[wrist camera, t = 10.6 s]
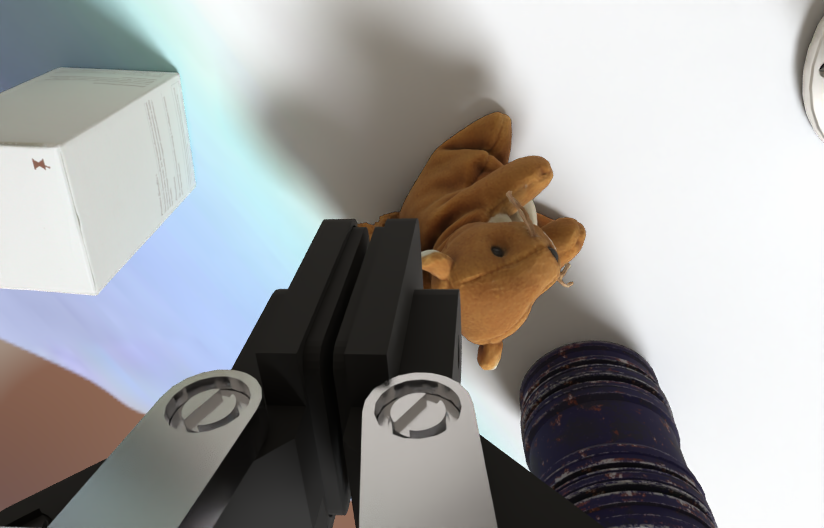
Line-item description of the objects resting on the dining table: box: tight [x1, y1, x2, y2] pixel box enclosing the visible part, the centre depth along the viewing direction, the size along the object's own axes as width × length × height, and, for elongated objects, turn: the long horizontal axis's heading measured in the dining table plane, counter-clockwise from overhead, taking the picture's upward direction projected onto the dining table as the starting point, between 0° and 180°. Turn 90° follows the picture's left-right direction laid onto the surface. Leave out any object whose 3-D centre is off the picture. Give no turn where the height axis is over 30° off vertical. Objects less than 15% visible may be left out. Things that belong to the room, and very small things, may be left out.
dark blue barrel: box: [520, 341, 718, 528], centre depth 40 cm, size 10×10×15 cm
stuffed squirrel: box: [357, 112, 586, 370], centre depth 34 cm, size 10×14×13 cm
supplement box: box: [0, 67, 196, 296], centre depth 33 cm, size 7×7×13 cm
